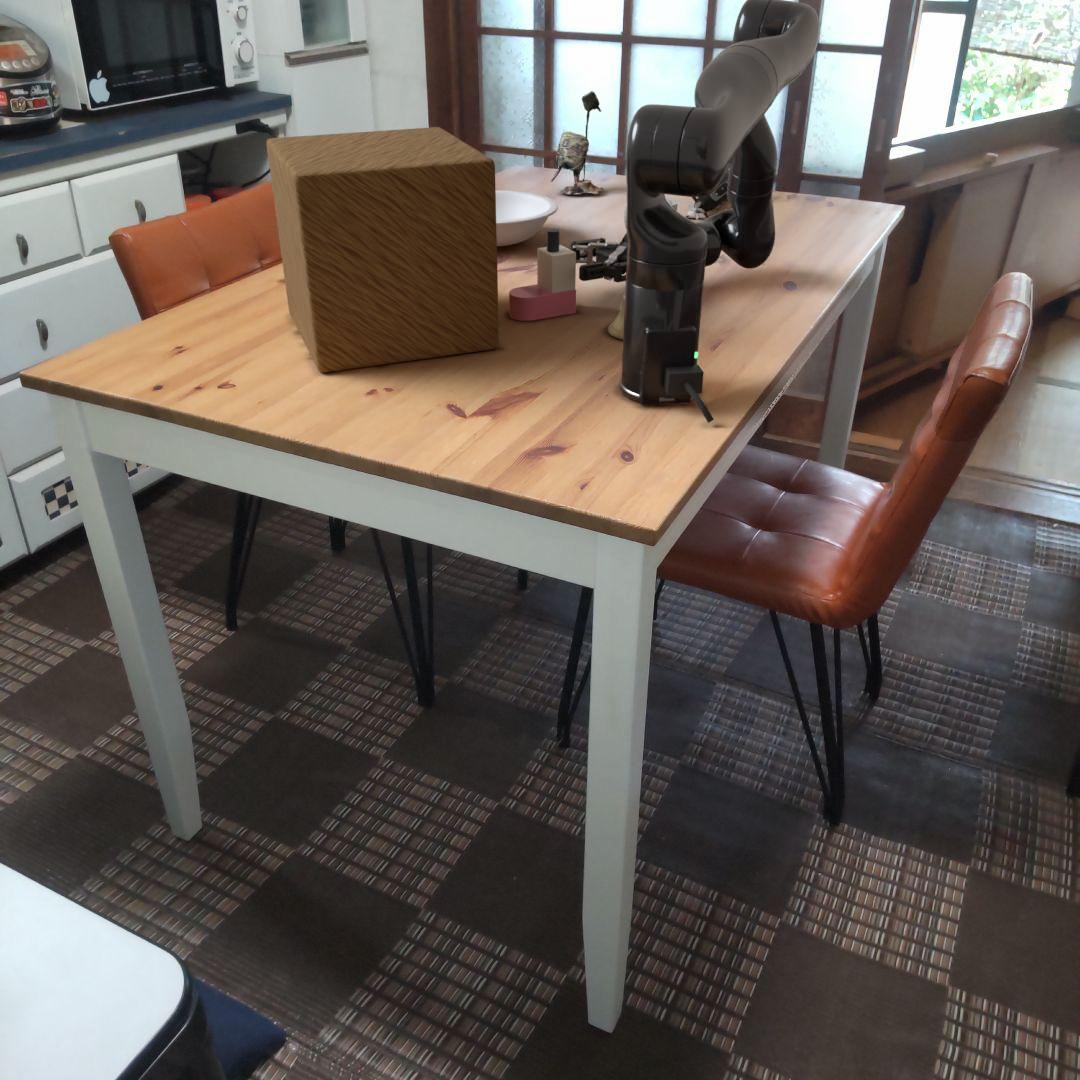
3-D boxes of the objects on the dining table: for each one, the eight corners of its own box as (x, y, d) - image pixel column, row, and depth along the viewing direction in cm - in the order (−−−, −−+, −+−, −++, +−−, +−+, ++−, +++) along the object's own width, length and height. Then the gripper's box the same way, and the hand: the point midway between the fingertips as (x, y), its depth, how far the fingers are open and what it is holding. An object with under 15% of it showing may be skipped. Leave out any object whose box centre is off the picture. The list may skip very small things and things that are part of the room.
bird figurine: (561, 186, 223) (562, 87, 212) (608, 191, 218) (612, 91, 208) (545, 194, 216) (545, 92, 206) (594, 199, 212) (596, 96, 202)
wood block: (288, 314, 151) (264, 137, 138) (449, 295, 159) (441, 125, 146) (318, 375, 132) (293, 175, 118) (500, 349, 139) (496, 159, 126)
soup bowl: (399, 241, 185) (396, 204, 182) (500, 218, 199) (499, 183, 195) (481, 270, 170) (480, 230, 167) (584, 244, 184) (585, 206, 180)
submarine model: (690, 236, 197) (731, 205, 191) (670, 207, 196) (710, 175, 190) (732, 201, 221) (770, 172, 215) (714, 175, 220) (752, 146, 214)
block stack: (559, 302, 156) (560, 223, 150) (576, 312, 152) (577, 232, 146) (503, 312, 152) (501, 232, 146) (519, 323, 148) (518, 240, 142)
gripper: (634, 216, 160) (543, 229, 154) (685, 238, 150) (591, 252, 143) (631, 263, 164) (543, 277, 158) (681, 288, 153) (589, 304, 147)
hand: (566, 265), depth 150 cm, fingers open, 8 cm apart
